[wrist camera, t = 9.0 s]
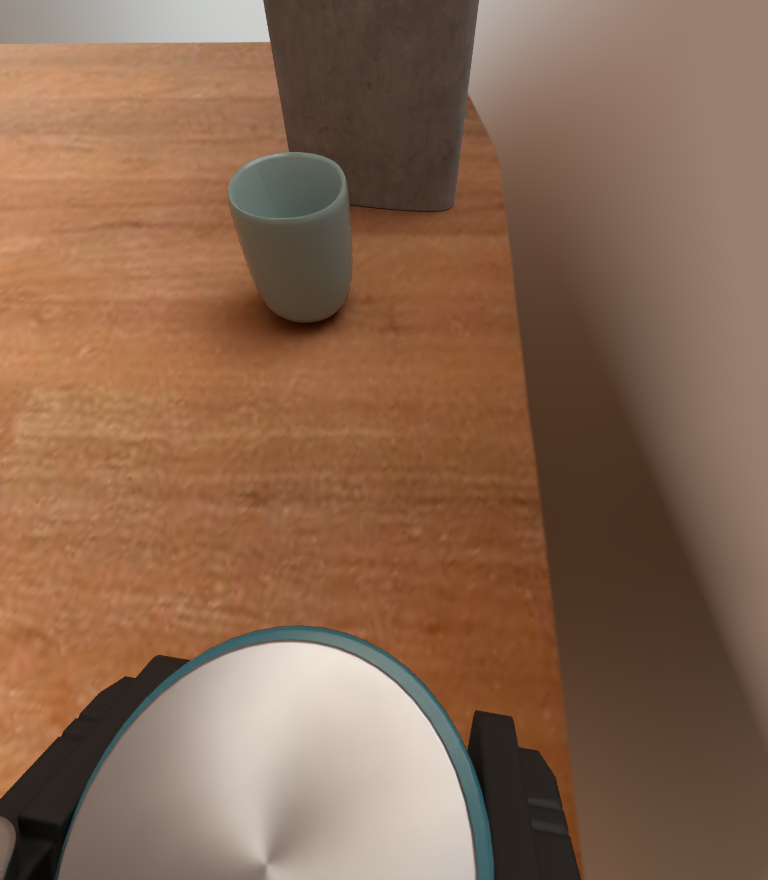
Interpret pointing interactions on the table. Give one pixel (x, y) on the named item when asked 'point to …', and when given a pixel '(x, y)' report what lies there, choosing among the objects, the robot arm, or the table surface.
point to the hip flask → (377, 92)
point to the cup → (295, 232)
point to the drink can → (284, 773)
